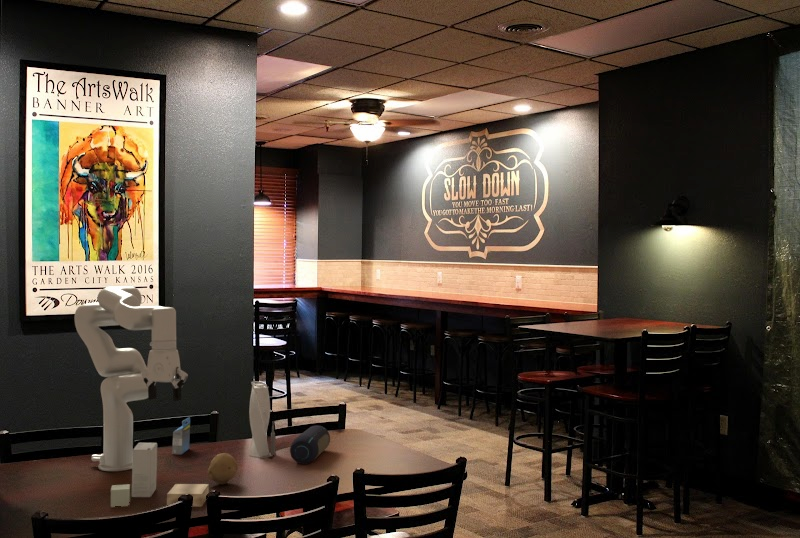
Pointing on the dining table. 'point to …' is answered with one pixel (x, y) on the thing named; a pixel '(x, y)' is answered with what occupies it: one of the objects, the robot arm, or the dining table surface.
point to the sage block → (120, 495)
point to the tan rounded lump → (222, 468)
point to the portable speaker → (310, 444)
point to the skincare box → (144, 469)
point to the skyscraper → (260, 421)
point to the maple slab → (193, 489)
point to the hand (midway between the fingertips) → (164, 399)
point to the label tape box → (181, 438)
